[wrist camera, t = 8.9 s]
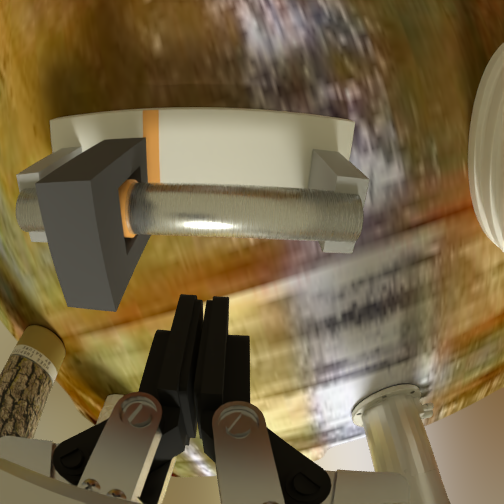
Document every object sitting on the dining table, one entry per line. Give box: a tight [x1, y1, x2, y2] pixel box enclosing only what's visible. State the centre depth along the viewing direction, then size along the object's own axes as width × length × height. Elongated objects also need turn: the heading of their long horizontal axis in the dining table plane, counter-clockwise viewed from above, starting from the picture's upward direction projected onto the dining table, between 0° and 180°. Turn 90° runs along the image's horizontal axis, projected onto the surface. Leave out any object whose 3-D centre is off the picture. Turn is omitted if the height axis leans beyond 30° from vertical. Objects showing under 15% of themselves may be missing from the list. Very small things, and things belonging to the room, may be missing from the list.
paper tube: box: [0, 325, 65, 439], centre depth 24 cm, size 7×7×25 cm
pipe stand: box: [17, 107, 369, 253], centre depth 21 cm, size 24×10×8 cm, turn 86°
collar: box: [35, 137, 150, 312], centre depth 17 cm, size 3×7×8 cm, turn 176°
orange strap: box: [118, 110, 160, 238], centre depth 19 cm, size 1×10×8 cm, turn 176°
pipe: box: [16, 183, 363, 243], centre depth 18 cm, size 21×3×3 cm, turn 86°
